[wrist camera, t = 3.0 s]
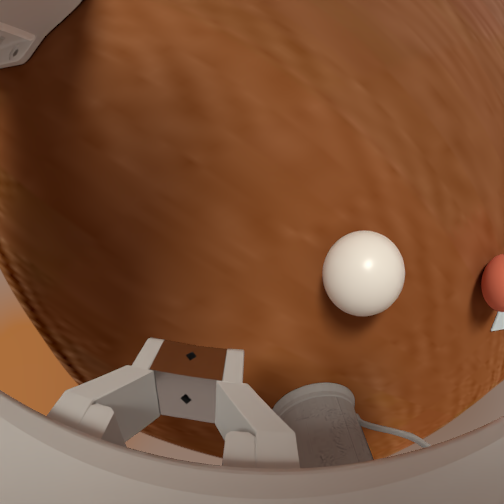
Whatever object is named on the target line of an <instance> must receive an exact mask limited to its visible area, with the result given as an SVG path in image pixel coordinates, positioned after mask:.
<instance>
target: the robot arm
mask: <svg viewBox="0 0 504 504" xmlns="http://www.w3.org/2000/svg"><path fill="white" fill-rule="evenodd" d="M81 1H82V0H0V68H5V67H10V66H16V65H21V64H24V63H25V62H26V61H27V60H28V59H29V58H30V57H31V55H32V54H33V53H34V51H35V50H36V48H37V47H38V45H39V44H40V43H41V41H42V40H43V38H44V37H45V36H46V35H47V34H48V33H49V32H50V31H51V30H52V29H53V28H54V27H55V26H57V25H58V24H59V23H60V22H61V21H62V20H63V19H64V18H65V17H67V16H68V15H69V14H70V13H71V12H72V11H73V10H74V9H75V8H76V7H77V6H78V5H79V4H80V2H81ZM243 367H244V350H242V349H223V348H213V347H204V346H196V345H192V344H186V343H180V342H174V341H168V340H163V339H157V338H148V339H147V341H146V343H145V344H144V346H143V348H142V349H141V351H140V352H139V354H138V356H137V357H136V359H135V361H134V362H133V364H132V366H129V365H126V366H124V367H121V368H119V369H117V370H115V371H112V372H110V373H107V374H105V375H103V376H100V377H98V378H96V379H93V380H91V381H88V382H86V383H83V384H81V385H78V386H76V387H74V388H71V389H68V390H66V391H65V392H64V393H63V395H62V396H61V397H60V399H59V400H58V401H57V403H56V404H55V406H54V407H53V408H52V410H51V411H50V412H49V414H48V415H47V416H45V415H43V414H41V413H39V412H37V411H35V410H33V409H31V408H29V407H28V406H26V405H24V404H22V403H21V402H19V401H17V400H15V399H14V398H12V397H10V396H9V395H7V394H5V393H4V392H2V391H1V390H0V504H504V416H503V417H501V418H499V419H497V420H495V421H493V422H491V423H488V424H486V425H484V426H482V427H480V428H478V429H475V430H473V431H470V432H468V433H466V434H463V435H461V436H458V437H456V438H453V439H450V440H447V441H444V442H441V443H438V444H435V445H432V446H429V447H426V448H422V449H419V450H415V451H411V452H408V453H404V454H400V455H396V456H391V457H386V458H381V459H376V460H371V461H365V462H359V463H352V464H345V465H337V466H327V467H314V468H300V464H299V457H298V450H297V443H296V435H295V432H294V431H293V430H292V429H291V428H290V427H289V426H288V425H287V424H286V423H285V422H284V421H283V420H282V419H281V418H280V417H279V416H278V415H277V414H276V413H275V412H274V411H273V410H272V409H271V408H270V407H269V406H268V405H267V404H266V403H265V402H264V401H263V400H262V399H261V398H260V396H259V395H258V394H257V393H256V392H255V391H254V390H253V389H252V388H251V387H250V386H249V385H248V384H246V383H243ZM160 414H161V415H167V416H173V417H179V418H186V419H192V420H197V421H204V422H210V423H215V425H216V427H217V428H218V430H219V432H220V434H221V435H222V437H223V439H224V440H225V445H224V454H223V463H222V466H218V465H208V464H202V463H195V462H189V461H183V460H177V459H172V458H167V457H163V456H158V455H154V454H150V453H145V452H141V451H137V450H134V449H131V448H127V447H126V445H125V442H126V441H127V440H129V439H130V438H131V437H133V436H134V435H136V434H137V433H138V432H140V431H141V430H142V429H144V428H145V427H146V426H148V425H149V424H150V423H151V422H153V421H154V420H155V419H157V418H158V417H159V416H160Z"/></svg>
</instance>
